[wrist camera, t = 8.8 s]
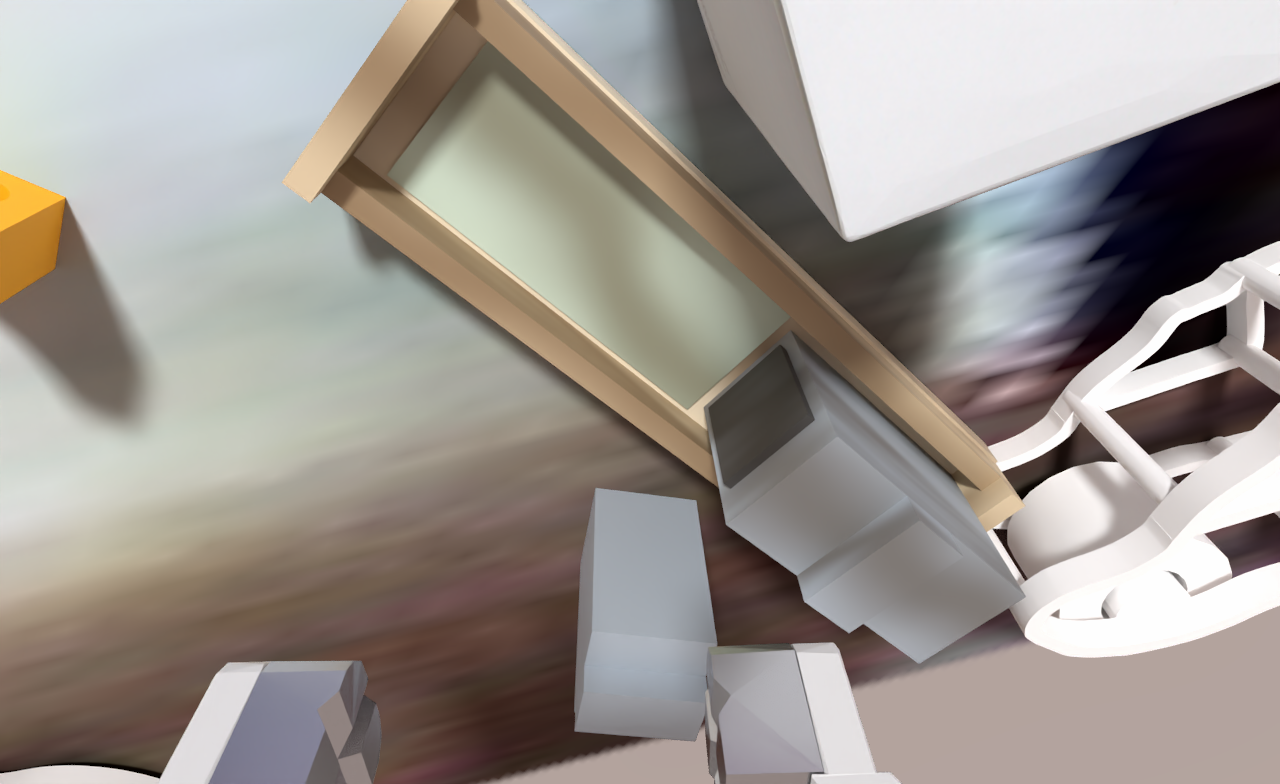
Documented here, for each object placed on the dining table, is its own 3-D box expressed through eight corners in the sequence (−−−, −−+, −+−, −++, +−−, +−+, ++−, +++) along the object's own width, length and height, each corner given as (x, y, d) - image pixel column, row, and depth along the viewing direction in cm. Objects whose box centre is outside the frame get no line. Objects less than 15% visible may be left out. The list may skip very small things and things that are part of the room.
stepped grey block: (579, 567, 32) (571, 744, 25) (595, 488, 30) (591, 657, 23) (673, 578, 32) (690, 753, 26) (696, 500, 30) (720, 670, 23)
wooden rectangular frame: (841, 546, 32) (906, 723, 25) (324, 149, 23) (197, 252, 16) (984, 442, 29) (1102, 608, 22) (465, -53, 20) (389, -37, 13)
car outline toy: (963, 573, 33) (1045, 726, 27) (907, 370, 27) (994, 503, 21) (1482, 413, 29) (1717, 546, 23) (1537, 143, 24) (1865, 223, 18)
